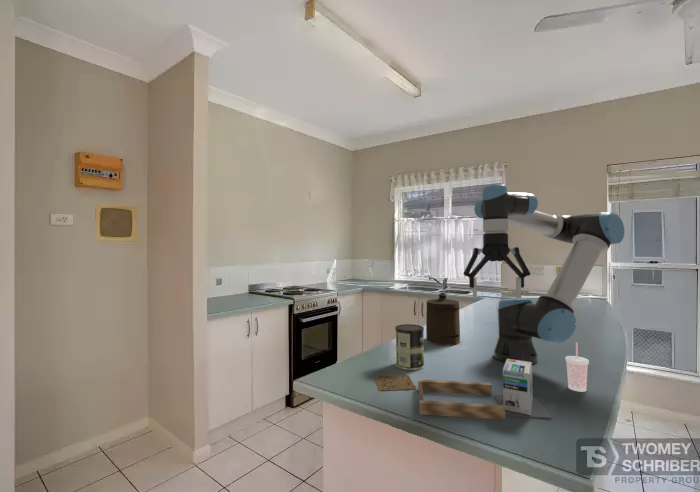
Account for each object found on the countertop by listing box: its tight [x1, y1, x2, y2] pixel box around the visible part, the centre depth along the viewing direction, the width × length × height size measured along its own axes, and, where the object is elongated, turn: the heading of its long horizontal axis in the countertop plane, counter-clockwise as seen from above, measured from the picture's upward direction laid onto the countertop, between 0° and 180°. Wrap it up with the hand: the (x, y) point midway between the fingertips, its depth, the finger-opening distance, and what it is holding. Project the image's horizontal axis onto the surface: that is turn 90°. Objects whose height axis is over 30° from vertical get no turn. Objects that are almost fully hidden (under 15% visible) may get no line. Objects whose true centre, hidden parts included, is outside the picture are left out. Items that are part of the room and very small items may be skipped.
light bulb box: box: [502, 359, 534, 415], centre depth 95 cm, size 11×7×11 cm, turn 150°
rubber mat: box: [493, 394, 552, 420], centre depth 95 cm, size 11×12×1 cm
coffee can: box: [395, 323, 425, 371], centre depth 128 cm, size 10×10×14 cm
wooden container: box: [425, 292, 461, 346], centre depth 160 cm, size 15×15×22 cm
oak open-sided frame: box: [417, 378, 506, 421], centre depth 98 cm, size 21×16×3 cm
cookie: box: [373, 374, 418, 392], centre depth 112 cm, size 12×12×1 cm
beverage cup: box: [565, 341, 590, 393], centre depth 106 cm, size 6×6×14 cm
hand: (496, 297), depth 114 cm, fingers open, 13 cm apart
